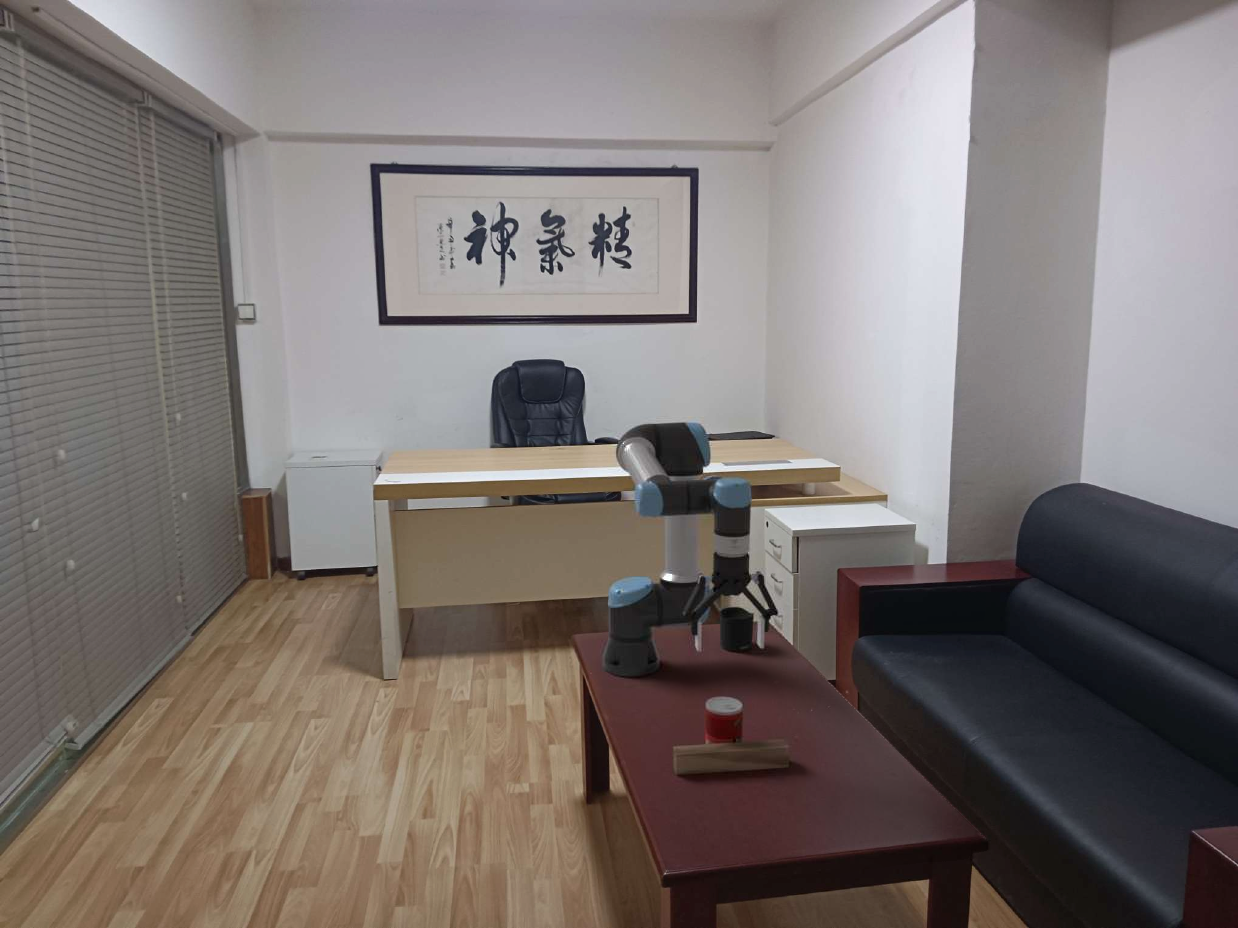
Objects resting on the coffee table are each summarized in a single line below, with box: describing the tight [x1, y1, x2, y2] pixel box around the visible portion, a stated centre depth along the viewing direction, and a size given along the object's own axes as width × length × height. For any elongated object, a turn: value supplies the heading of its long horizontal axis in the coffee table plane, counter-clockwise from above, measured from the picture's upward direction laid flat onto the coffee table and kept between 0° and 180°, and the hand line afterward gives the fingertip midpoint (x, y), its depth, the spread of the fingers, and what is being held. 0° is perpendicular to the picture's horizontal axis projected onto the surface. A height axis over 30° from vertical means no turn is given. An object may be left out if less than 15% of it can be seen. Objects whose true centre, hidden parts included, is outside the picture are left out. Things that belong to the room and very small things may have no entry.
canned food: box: [704, 696, 744, 744], centre depth 193 cm, size 8×8×11 cm
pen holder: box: [719, 606, 755, 653], centre depth 250 cm, size 9×9×10 cm
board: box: [672, 738, 791, 776], centre depth 187 cm, size 4×24×4 cm, turn 97°
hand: (729, 647), depth 192 cm, fingers open, 13 cm apart
